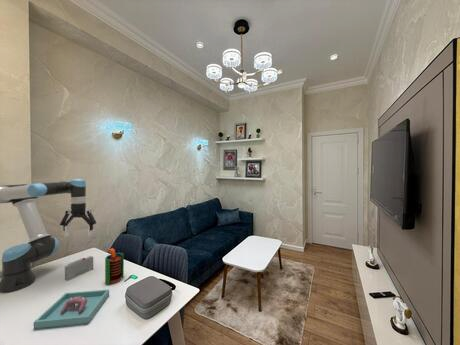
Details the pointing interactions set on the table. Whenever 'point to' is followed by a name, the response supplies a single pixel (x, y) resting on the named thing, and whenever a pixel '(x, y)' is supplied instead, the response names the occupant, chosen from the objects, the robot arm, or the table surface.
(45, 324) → the tray
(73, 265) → the cassette player
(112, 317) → the table surface
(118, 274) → the motor
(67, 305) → the video game controller
